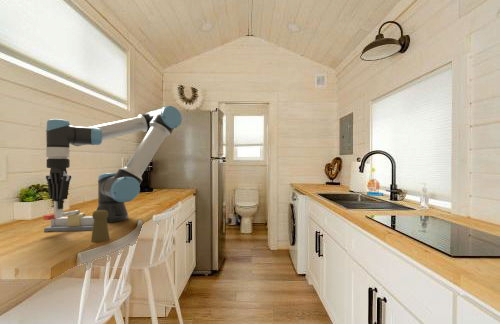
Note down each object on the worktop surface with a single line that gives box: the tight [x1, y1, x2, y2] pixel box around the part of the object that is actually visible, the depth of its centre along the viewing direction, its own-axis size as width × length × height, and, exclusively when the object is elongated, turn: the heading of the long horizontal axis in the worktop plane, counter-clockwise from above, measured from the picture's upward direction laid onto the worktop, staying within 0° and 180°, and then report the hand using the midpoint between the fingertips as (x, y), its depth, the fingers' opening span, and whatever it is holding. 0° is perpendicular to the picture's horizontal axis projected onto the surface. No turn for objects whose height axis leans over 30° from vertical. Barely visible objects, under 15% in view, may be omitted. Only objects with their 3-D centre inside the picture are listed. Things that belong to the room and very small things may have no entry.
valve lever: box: [43, 209, 81, 221], centre depth 110 cm, size 3×14×2 cm, turn 163°
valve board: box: [43, 212, 94, 233], centre depth 116 cm, size 20×10×6 cm, turn 99°
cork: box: [90, 209, 110, 243], centre depth 99 cm, size 6×6×11 cm
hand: (58, 217), depth 106 cm, fingers closed
